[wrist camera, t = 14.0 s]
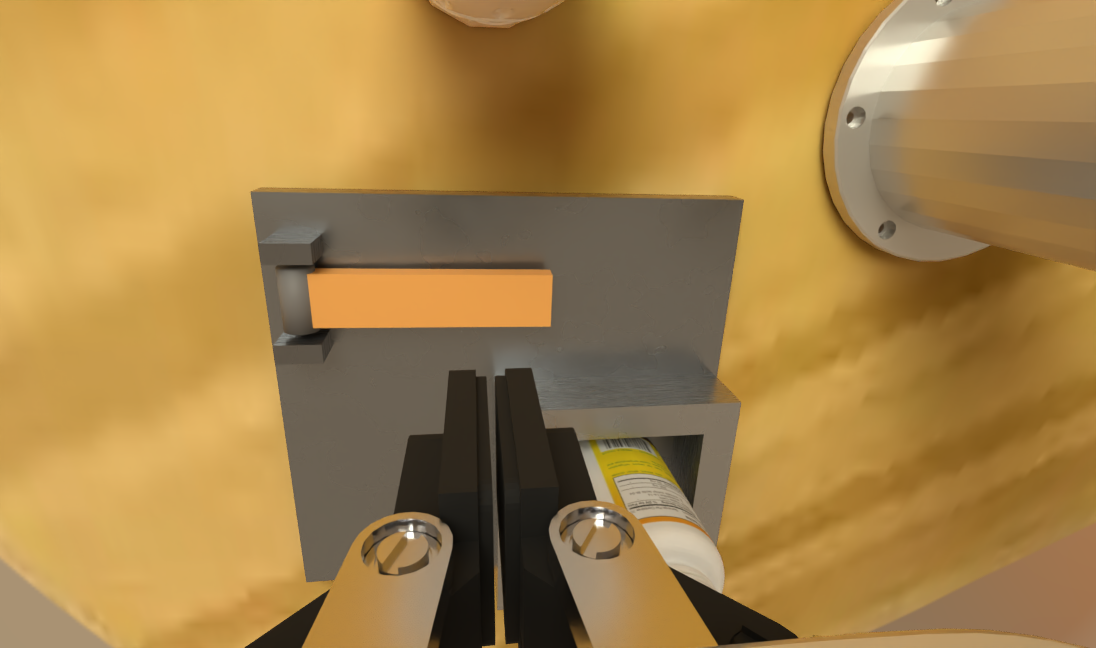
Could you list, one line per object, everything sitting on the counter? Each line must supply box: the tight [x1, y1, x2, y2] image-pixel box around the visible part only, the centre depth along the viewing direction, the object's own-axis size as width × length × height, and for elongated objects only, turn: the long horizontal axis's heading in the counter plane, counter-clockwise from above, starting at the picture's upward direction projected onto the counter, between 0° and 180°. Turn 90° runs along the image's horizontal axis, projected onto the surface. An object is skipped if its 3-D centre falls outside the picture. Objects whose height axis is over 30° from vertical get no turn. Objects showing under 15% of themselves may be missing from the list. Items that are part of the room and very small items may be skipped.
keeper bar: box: [275, 264, 553, 335], centre depth 23 cm, size 11×3×1 cm, turn 88°
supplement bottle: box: [578, 437, 724, 594], centre depth 24 cm, size 6×6×10 cm
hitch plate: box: [251, 188, 744, 610], centre depth 25 cm, size 20×19×4 cm
